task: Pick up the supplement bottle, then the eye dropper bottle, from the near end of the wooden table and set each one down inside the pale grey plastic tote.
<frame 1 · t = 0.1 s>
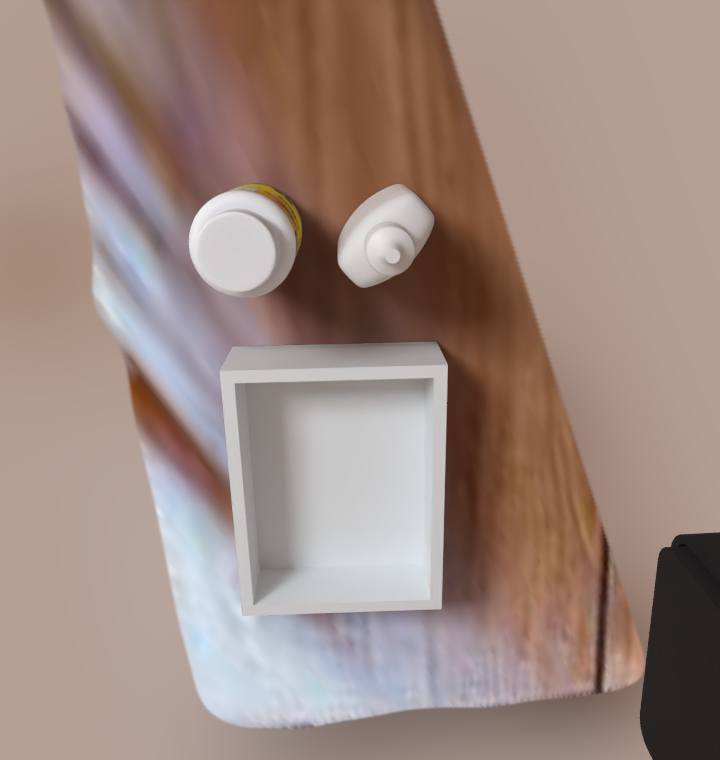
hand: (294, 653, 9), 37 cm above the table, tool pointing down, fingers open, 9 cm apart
tote: (338, 463, 48), on the table
eye dropper bottle: (378, 224, 43), on the table
supplement bottle: (259, 227, 43), on the table
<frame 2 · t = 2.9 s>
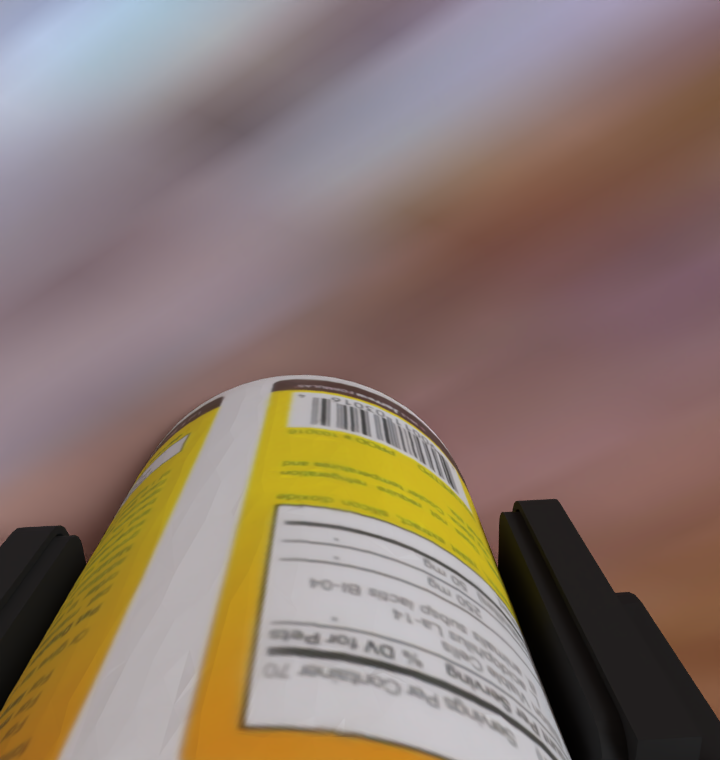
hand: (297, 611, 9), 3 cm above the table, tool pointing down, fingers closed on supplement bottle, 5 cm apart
supplement bottle: (307, 509, 12), on the table, touching gripper
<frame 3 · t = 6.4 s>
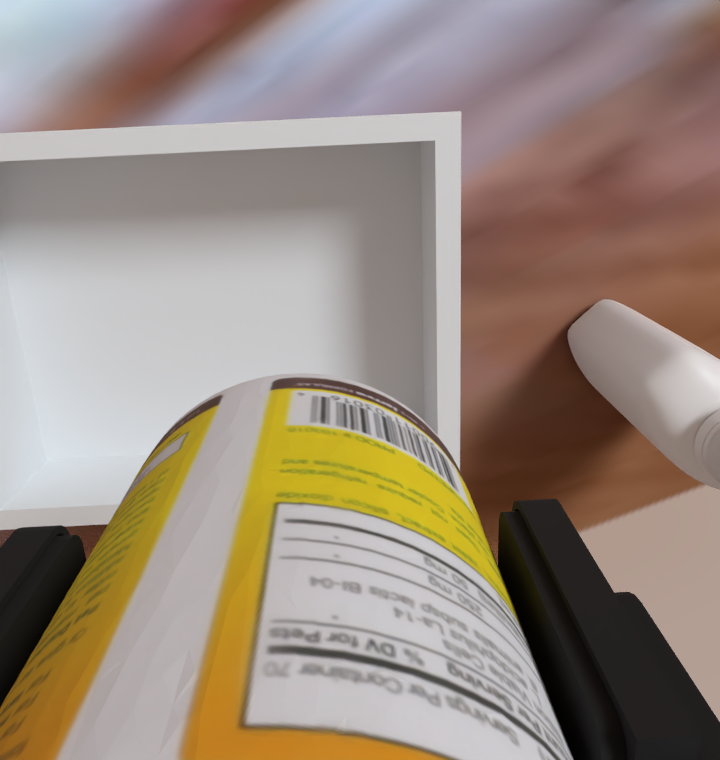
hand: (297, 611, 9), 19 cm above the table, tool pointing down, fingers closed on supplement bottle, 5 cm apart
tote: (223, 306, 28), on the table
eye dropper bottle: (619, 354, 29), on the table
supplement bottle: (307, 508, 12), point 17 cm above the table, touching gripper
when the fingers open (5 cm above the table, at t = 9.4 s): supplement bottle drops 2 cm, resting on tote.
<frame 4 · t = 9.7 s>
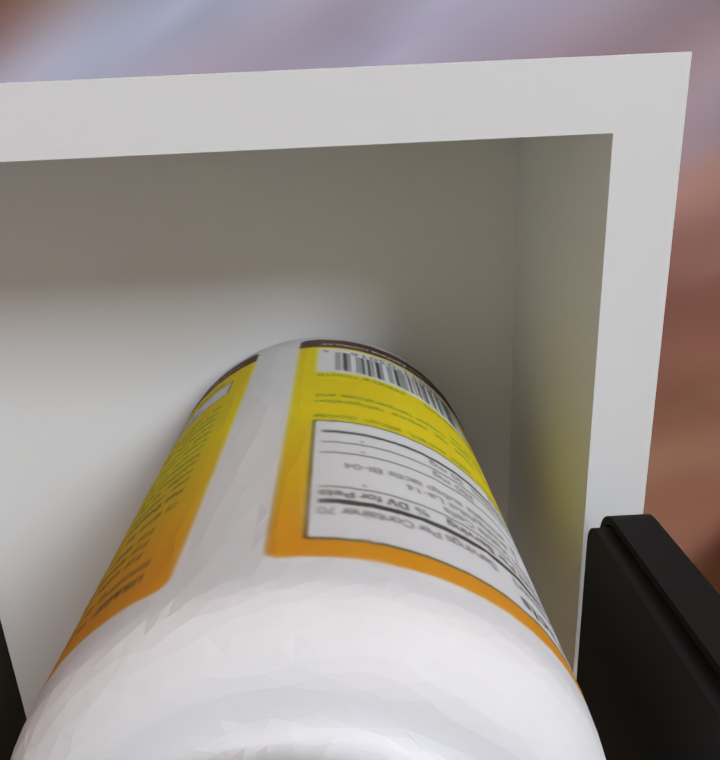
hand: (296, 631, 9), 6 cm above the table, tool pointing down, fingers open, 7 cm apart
tote: (121, 457, 14), on the table
supplement bottle: (326, 458, 14), point 1 cm above the table, touching tote
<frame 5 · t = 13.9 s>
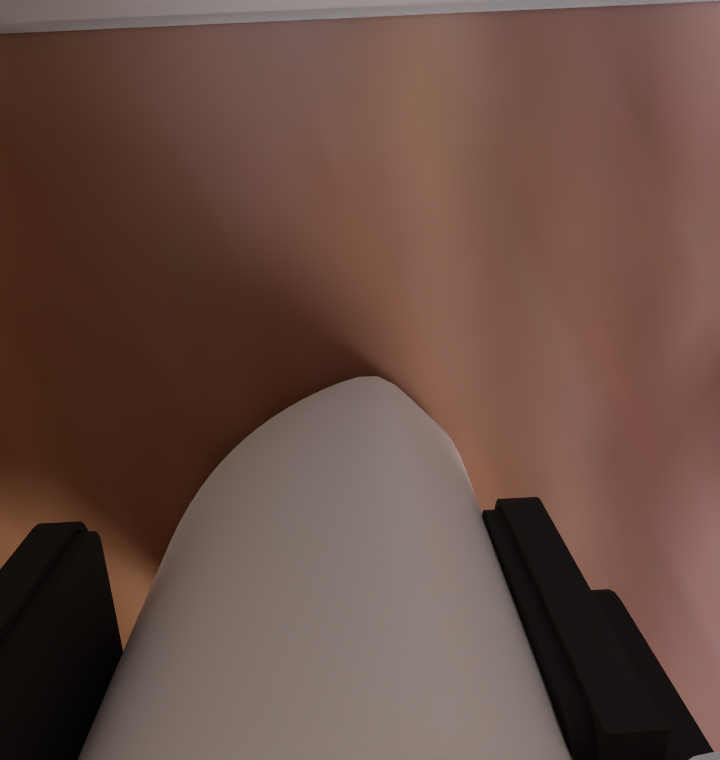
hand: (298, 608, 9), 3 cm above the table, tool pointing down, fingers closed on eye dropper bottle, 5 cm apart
eye dropper bottle: (307, 499, 12), on the table, touching gripper
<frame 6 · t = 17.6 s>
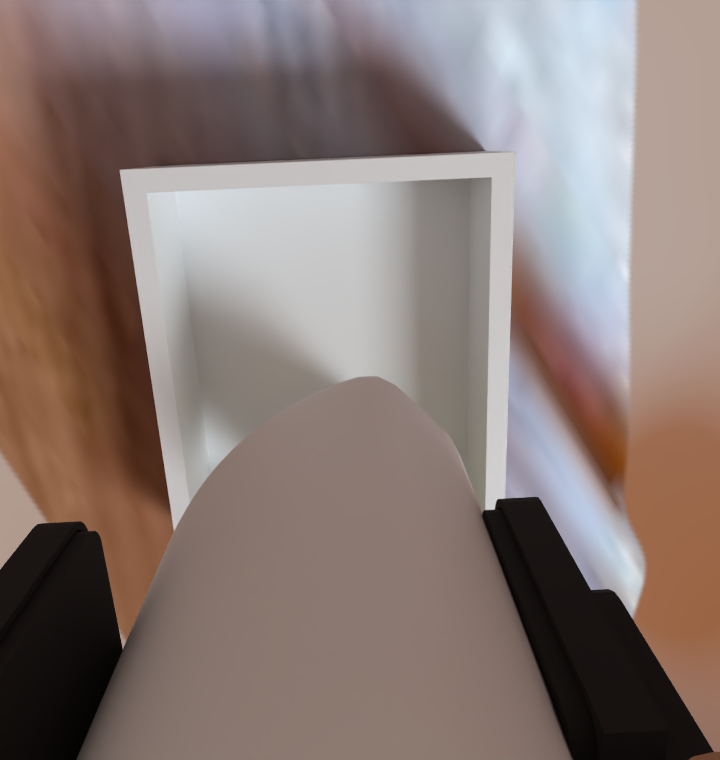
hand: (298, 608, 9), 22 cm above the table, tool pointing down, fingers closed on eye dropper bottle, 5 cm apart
tote: (333, 361, 31), on the table
eye dropper bottle: (306, 499, 12), point 19 cm above the table, touching gripper
when the fingers open (5 cm above the table, at t = 21.2 s): eye dropper bottle drops 2 cm, resting on tote.
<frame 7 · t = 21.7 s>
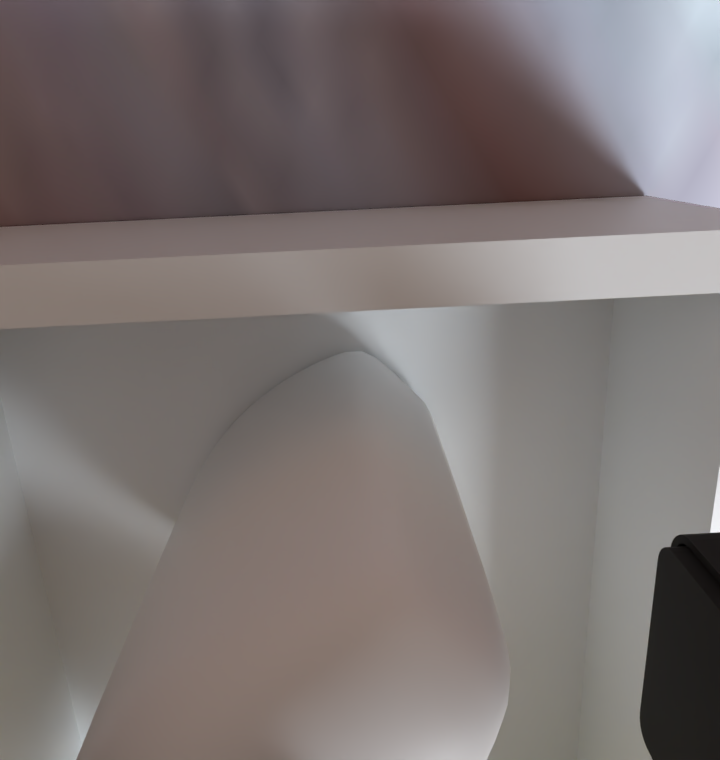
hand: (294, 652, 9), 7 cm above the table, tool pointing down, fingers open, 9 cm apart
tote: (324, 595, 16), on the table
eye dropper bottle: (304, 460, 14), point 1 cm above the table, touching tote
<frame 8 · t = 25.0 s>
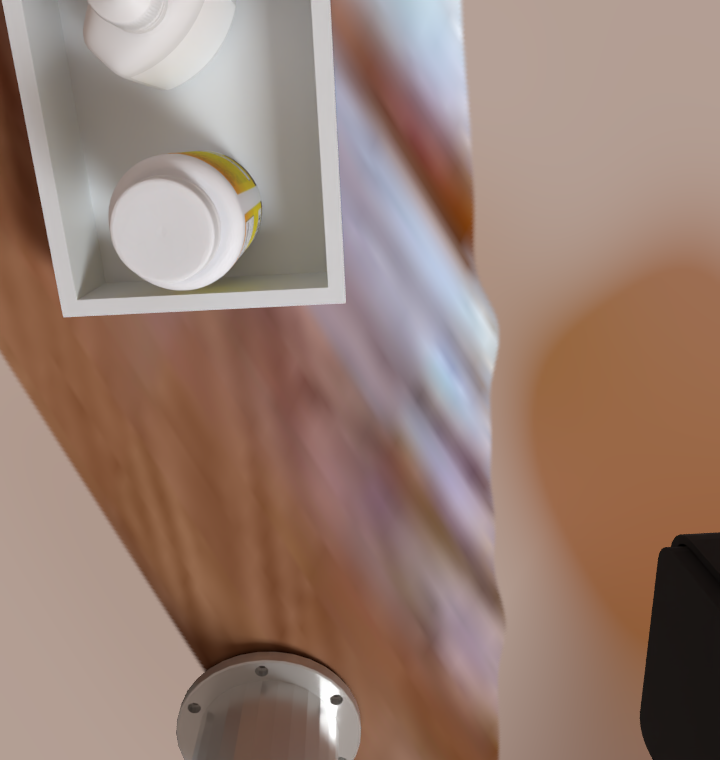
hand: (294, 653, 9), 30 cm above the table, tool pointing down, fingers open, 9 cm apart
tote: (202, 118, 35), on the table
eye dropper bottle: (186, 33, 33), point 1 cm above the table, touching tote
supplement bottle: (211, 206, 35), point 1 cm above the table, touching tote
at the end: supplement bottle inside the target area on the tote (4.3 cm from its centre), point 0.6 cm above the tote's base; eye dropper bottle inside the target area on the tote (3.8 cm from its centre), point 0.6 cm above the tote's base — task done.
